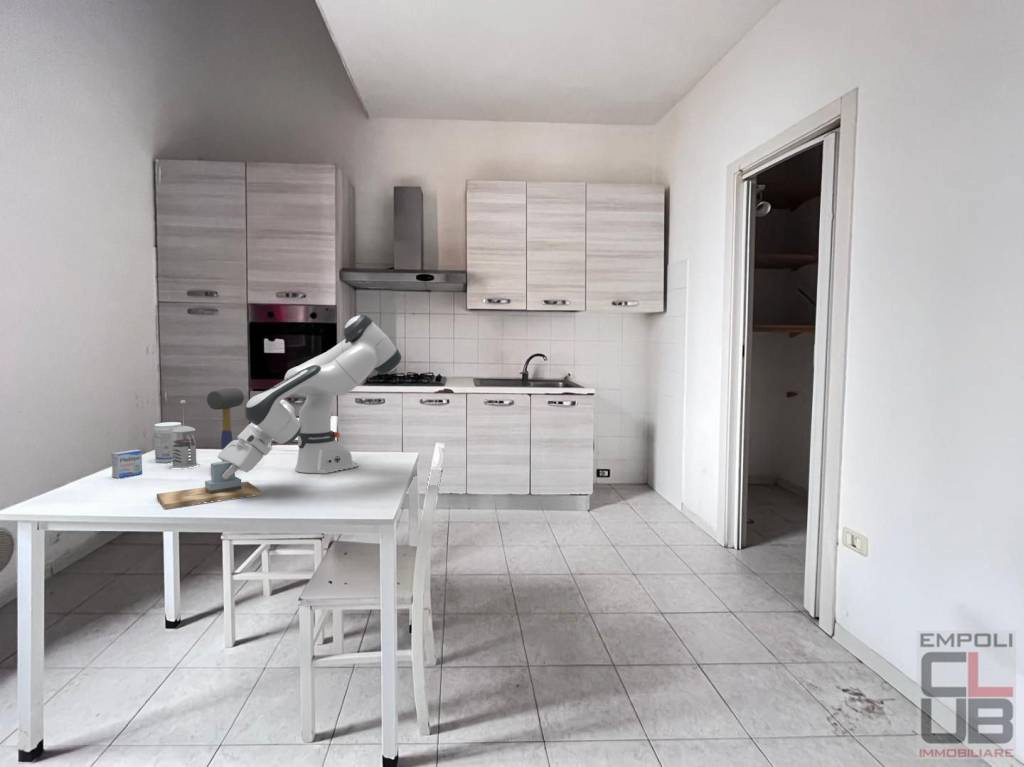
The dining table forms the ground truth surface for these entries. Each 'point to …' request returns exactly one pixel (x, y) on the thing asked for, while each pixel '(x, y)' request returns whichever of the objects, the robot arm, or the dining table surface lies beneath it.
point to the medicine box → (126, 463)
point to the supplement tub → (165, 441)
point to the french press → (184, 447)
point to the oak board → (203, 496)
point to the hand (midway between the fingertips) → (220, 476)
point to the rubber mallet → (225, 408)
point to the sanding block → (221, 479)
